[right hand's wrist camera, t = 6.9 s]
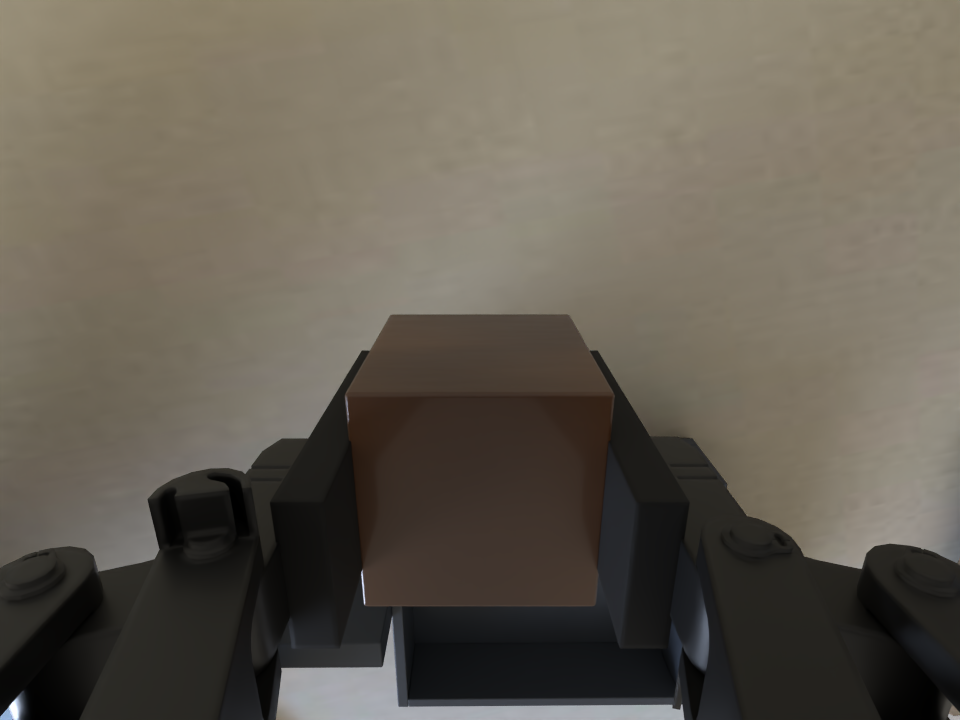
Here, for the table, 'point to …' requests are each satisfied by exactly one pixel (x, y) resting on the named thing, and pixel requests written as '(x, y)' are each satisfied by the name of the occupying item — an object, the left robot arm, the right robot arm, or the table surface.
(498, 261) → the table surface
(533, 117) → the table surface
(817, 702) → the right robot arm
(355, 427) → the block
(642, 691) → the tray
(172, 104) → the table surface
